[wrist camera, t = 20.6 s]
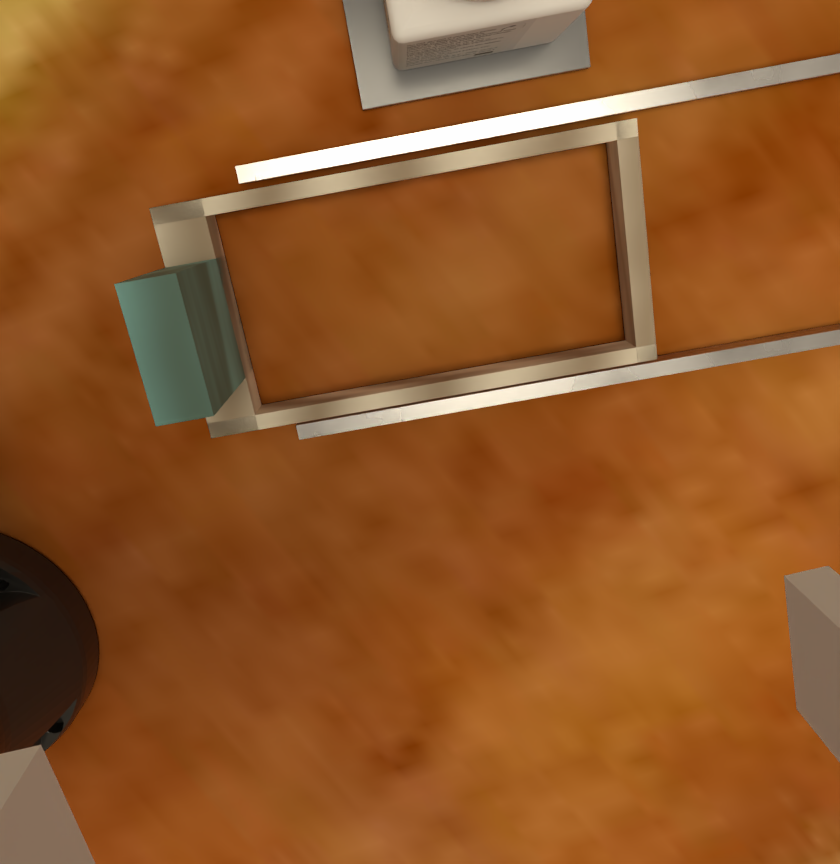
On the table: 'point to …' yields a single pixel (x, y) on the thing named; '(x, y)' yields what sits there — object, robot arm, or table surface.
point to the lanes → (534, 121)
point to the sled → (242, 411)
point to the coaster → (402, 86)
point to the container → (471, 27)
